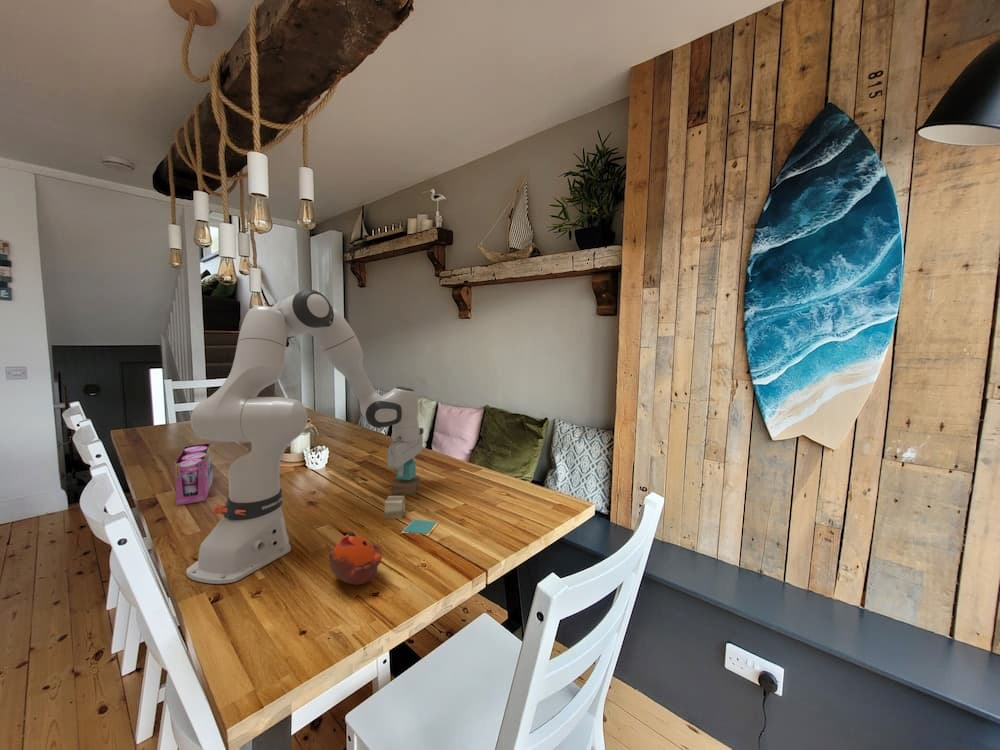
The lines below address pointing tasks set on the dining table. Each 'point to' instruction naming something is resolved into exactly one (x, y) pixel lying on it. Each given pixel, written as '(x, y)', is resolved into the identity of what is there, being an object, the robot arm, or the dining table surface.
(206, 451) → the gum box
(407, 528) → the swatch tile
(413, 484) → the walnut block
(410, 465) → the teal cube
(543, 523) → the dining table surface
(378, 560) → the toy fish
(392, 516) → the maple cube
